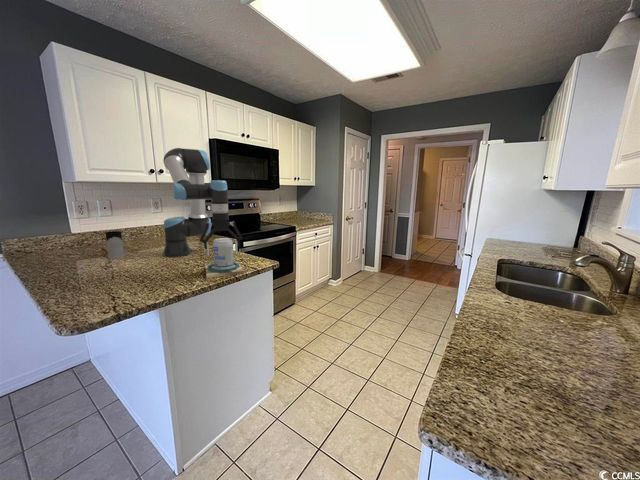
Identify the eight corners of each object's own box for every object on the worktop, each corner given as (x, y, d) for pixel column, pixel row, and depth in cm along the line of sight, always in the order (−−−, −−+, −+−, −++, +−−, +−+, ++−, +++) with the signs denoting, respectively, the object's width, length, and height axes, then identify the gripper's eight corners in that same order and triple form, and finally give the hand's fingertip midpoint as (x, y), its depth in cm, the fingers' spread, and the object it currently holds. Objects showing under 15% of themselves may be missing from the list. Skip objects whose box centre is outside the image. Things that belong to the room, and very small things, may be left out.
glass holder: (108, 259, 154) (104, 233, 151) (106, 254, 165) (103, 230, 162) (126, 256, 160) (123, 232, 157) (123, 252, 170) (120, 229, 167)
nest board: (205, 267, 140) (205, 262, 139) (238, 264, 147) (238, 259, 146) (206, 278, 124) (206, 272, 123) (243, 273, 131) (243, 268, 130)
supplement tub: (211, 270, 130) (209, 241, 127) (217, 265, 139) (216, 237, 137) (231, 270, 131) (229, 241, 128) (236, 265, 140) (234, 238, 137)
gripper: (192, 213, 121) (195, 258, 125) (247, 212, 131) (249, 253, 135) (192, 212, 128) (195, 254, 132) (245, 211, 138) (246, 250, 142)
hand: (222, 254), depth 134 cm, fingers open, 13 cm apart
